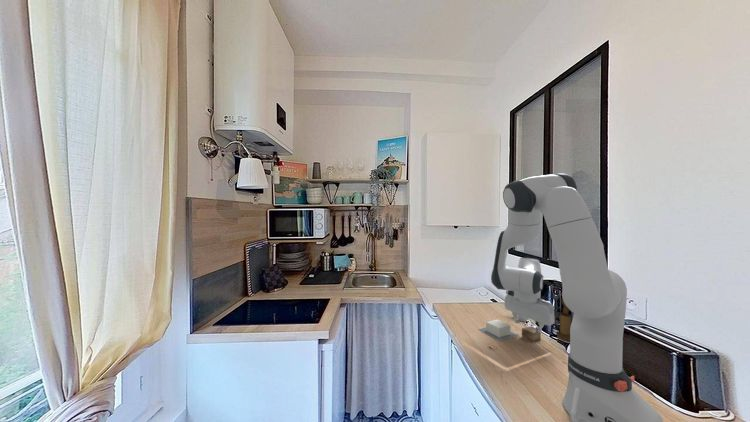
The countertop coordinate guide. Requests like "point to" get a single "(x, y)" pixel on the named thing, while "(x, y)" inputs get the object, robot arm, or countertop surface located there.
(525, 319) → the dixie cup
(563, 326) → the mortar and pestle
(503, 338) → the build plate
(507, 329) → the base brick
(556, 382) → the countertop surface
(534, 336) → the walnut brick
